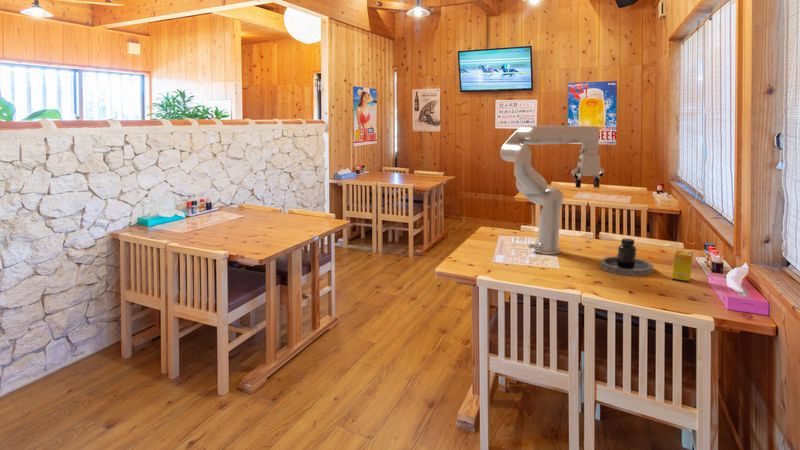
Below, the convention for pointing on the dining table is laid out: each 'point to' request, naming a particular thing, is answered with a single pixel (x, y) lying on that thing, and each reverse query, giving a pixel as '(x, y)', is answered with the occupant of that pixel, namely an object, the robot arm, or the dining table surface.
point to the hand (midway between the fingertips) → (587, 187)
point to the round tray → (611, 266)
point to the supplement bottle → (626, 254)
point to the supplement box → (682, 266)
